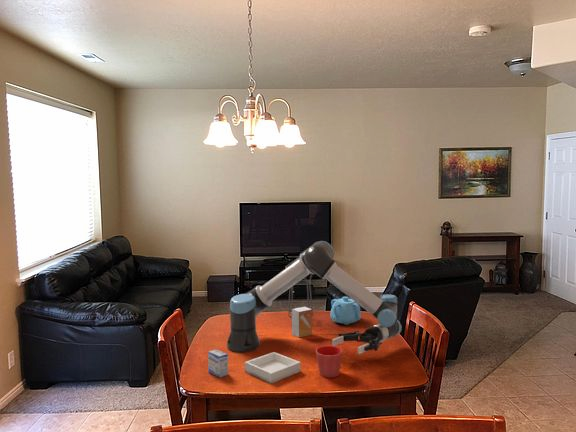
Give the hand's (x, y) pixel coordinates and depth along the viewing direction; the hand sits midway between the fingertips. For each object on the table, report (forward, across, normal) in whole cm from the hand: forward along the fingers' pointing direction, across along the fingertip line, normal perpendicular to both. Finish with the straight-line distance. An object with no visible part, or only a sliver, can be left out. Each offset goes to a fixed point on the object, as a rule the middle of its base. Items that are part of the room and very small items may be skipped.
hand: (345, 346), depth 202 cm
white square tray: (+25, +18, -8) cm, 32 cm away
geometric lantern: (-31, +57, -8) cm, 65 cm away
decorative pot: (-48, +40, -9) cm, 63 cm away
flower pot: (+10, 0, -9) cm, 13 cm away
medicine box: (+41, +32, -8) cm, 53 cm away
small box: (-16, +41, -8) cm, 45 cm away
